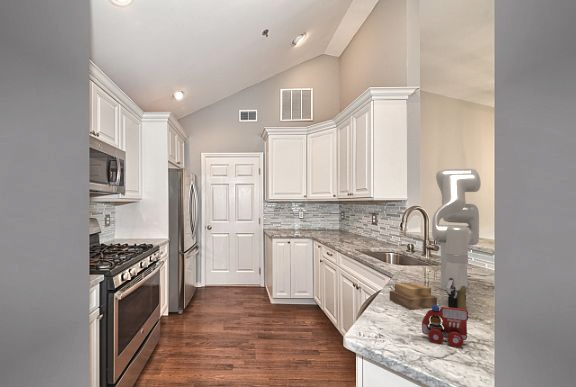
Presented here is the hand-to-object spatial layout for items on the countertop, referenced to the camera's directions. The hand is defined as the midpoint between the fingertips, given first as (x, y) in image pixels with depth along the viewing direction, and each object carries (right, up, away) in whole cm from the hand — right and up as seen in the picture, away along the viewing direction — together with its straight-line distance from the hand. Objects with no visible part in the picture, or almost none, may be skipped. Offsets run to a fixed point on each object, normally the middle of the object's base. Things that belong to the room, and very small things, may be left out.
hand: (457, 305), depth 118 cm
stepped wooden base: (-13, -3, +11) cm, 17 cm away
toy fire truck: (-17, -2, -25) cm, 31 cm away
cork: (0, -3, 0) cm, 3 cm away
